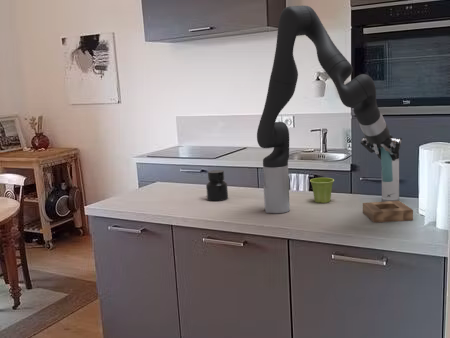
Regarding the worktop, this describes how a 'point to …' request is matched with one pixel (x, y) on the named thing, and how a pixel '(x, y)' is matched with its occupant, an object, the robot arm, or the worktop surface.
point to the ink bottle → (216, 186)
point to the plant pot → (322, 189)
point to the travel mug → (392, 184)
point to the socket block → (387, 211)
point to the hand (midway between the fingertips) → (388, 158)
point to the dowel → (386, 166)
